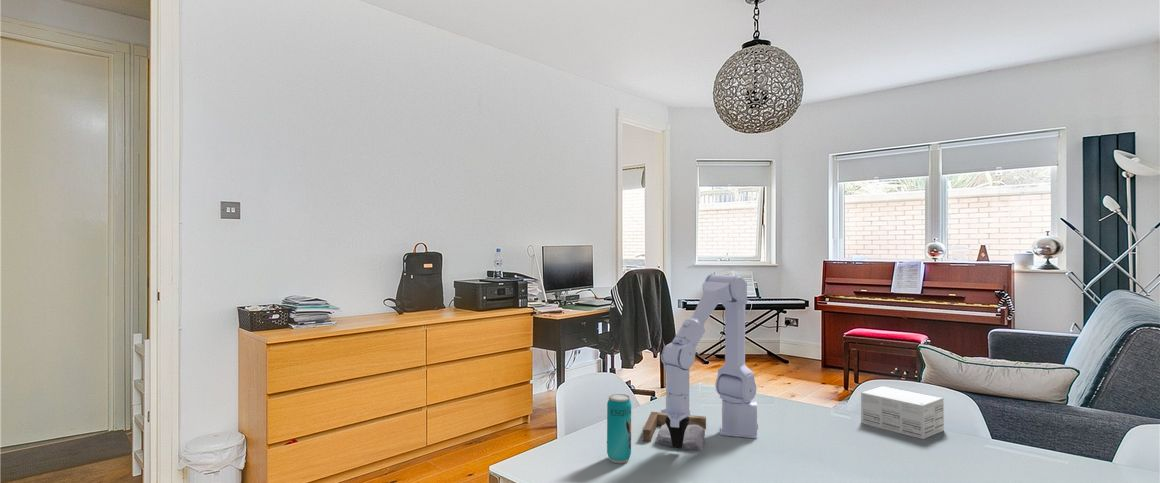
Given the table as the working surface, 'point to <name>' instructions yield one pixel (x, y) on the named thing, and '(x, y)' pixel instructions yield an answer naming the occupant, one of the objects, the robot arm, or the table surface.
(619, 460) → the beverage can
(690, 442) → the stone block
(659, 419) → the dock
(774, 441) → the table surface
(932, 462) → the table surface
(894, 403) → the supplement box
